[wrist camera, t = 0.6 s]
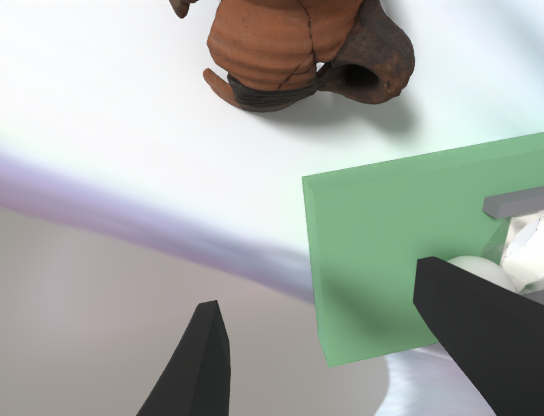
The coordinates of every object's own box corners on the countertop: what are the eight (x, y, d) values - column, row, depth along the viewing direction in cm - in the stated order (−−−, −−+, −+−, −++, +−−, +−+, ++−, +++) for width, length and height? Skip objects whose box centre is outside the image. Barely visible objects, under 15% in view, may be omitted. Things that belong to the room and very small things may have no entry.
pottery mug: (157, 81, 16) (71, -84, 8) (232, -42, 17) (226, -289, 9) (340, 176, 17) (437, 115, 8) (398, 49, 18) (529, -107, 10)
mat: (618, 118, 20) (706, 126, 17) (554, 285, 27) (606, 318, 23) (301, 176, 19) (319, 200, 15) (318, 337, 26) (333, 381, 22)
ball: (481, 237, 19) (546, 277, 15) (471, 285, 21) (526, 332, 17) (422, 249, 19) (472, 293, 15) (417, 297, 21) (460, 347, 17)
